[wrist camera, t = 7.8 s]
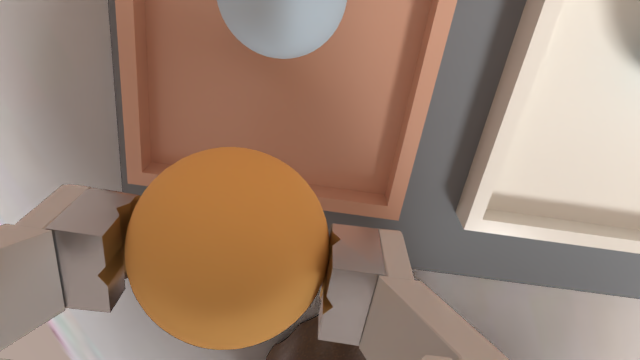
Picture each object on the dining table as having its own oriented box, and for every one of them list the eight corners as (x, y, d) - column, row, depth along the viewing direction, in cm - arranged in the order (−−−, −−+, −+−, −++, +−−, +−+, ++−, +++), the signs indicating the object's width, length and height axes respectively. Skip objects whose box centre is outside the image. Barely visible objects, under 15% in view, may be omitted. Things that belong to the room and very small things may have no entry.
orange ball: (317, 270, 12) (310, 409, 8) (168, 250, 11) (93, 383, 8) (342, 133, 10) (349, 234, 6) (165, 106, 9) (66, 195, 6)
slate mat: (665, 295, 22) (674, 303, 21) (130, 223, 21) (125, 230, 20) (951, -135, 14) (977, -138, 13) (95, -289, 13) (84, -301, 12)
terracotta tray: (393, 203, 19) (398, 220, 18) (141, 168, 19) (127, 183, 17) (469, -89, 14) (482, -94, 13) (125, -147, 14) (104, -158, 12)
